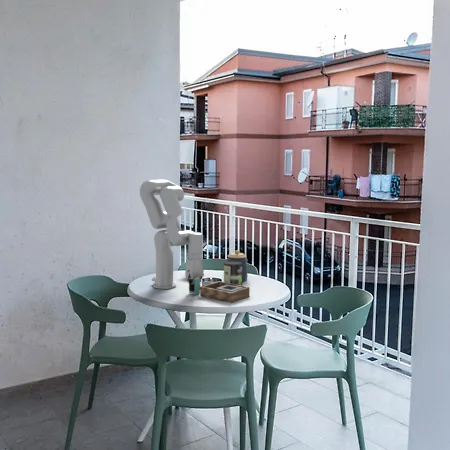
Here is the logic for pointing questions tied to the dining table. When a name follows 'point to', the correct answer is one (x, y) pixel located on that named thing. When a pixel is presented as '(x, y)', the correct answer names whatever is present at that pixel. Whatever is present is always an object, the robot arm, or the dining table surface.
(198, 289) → the teal salt shaker
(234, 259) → the canister
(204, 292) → the bin
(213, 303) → the dining table surface
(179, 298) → the dining table surface
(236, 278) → the coffee can
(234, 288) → the socket
